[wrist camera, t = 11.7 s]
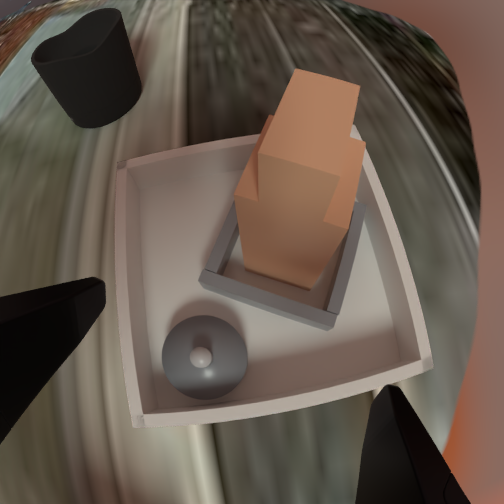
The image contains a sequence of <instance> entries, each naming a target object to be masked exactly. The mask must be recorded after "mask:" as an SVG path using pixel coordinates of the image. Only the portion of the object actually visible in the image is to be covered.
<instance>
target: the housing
mask: <svg viewBox="0 0 504 504" xmlns="http://www.w3.org/2000/svg"><path fill="white" fill-rule="evenodd" d="M259 136H260V134H256V135H249V136H243V137H236V138H230V139H224V140H218V141H212V142H207V143H201V144H196V145H191V146H186V147H181V148H176V149H171V150H167V151H162V152H158V153H153V154H149V155H145V156H141V157H137V158H132V159H129V160H125V161H121V162H117V176H116V196H115V276H116V297H117V312H118V324H119V335H120V345H121V354H122V362H123V370H124V377H125V384H126V391H127V397H128V403H129V409H130V415H131V420H132V425H133V428H146V427H168V426H183V425H195V424H206V423H215V422H223V421H231V420H238V419H245V418H252V417H258V416H264V415H270V414H275V413H281V412H286V411H291V410H295V409H300V408H305V407H309V406H314V405H318V404H322V403H326V402H330V401H334V400H338V399H342V398H345V397H349V396H353V395H356V394H360V393H363V392H366V391H370V390H373V389H376V388H379V387H383V386H385V385H387V384H392V383H395V382H398V381H401V380H403V379H406V378H409V377H412V376H415V375H417V374H420V373H423V372H425V371H428V370H430V369H433V368H434V365H433V360H432V355H431V350H430V345H429V340H428V335H427V331H426V326H425V322H424V318H423V314H422V310H421V306H420V302H419V298H418V294H417V290H416V287H415V283H414V280H413V276H412V273H411V269H410V266H409V263H408V259H407V256H406V253H405V250H404V247H403V244H402V241H401V238H400V235H399V232H398V229H397V226H396V223H395V220H394V217H393V215H392V212H391V209H390V206H389V204H388V201H387V199H386V196H385V193H384V191H383V188H382V186H381V183H380V181H379V178H378V176H377V173H376V171H375V169H374V166H373V164H372V162H371V159H370V157H369V155H368V152H367V150H366V148H365V151H364V157H363V162H362V167H361V173H360V178H359V183H358V188H357V193H356V197H355V202H354V207H353V211H352V216H351V220H350V224H349V229H348V231H347V233H346V234H345V236H344V237H343V239H342V241H341V242H340V244H339V246H338V247H337V249H336V250H335V252H334V254H333V255H332V257H331V258H330V260H329V262H328V263H327V265H326V266H325V268H324V270H323V271H322V273H321V274H320V276H319V277H318V279H317V280H316V282H315V284H314V285H313V287H312V288H311V290H310V291H307V290H304V289H301V288H298V287H295V286H291V285H288V284H285V283H282V282H279V281H276V280H273V279H270V278H267V277H264V276H261V275H257V274H254V273H251V272H248V271H245V266H244V260H243V253H242V247H241V240H240V234H239V227H238V221H237V214H236V207H235V201H234V192H235V190H236V188H237V185H238V183H239V181H240V178H241V176H242V174H243V172H244V169H245V167H246V165H247V163H248V160H249V158H250V156H251V154H252V151H253V149H254V147H255V145H256V143H257V140H258V138H259ZM350 137H352V138H355V139H358V140H361V141H362V139H361V137H360V135H359V133H358V131H357V128H356V126H355V125H352V129H351V133H350Z"/></svg>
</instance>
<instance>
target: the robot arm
mask: <svg viewBox="0 0 504 504" xmlns="http://www.w3.org/2000/svg"><path fill="white" fill-rule="evenodd" d="M105 304H106V289H105V282H104V281H103V280H101V279H99V278H96V277H89V278H85V279H80V280H75V281H71V282H66V283H62V284H57V285H53V286H48V287H43V288H39V289H34V290H30V291H25V292H21V293H16V294H12V295H7V296H3V297H0V444H1V443H2V441H3V440H4V439H5V437H6V436H7V434H8V433H9V432H10V430H11V428H12V427H13V426H14V425H15V423H16V422H17V421H18V419H19V418H20V417H21V415H22V414H23V413H24V411H25V410H26V409H27V407H28V406H29V405H30V404H31V402H32V401H33V400H34V398H35V397H36V396H37V395H38V393H39V392H40V391H41V389H42V388H43V387H44V386H45V384H46V383H47V382H48V381H49V379H50V378H51V377H52V376H53V375H54V373H55V372H56V371H57V370H58V368H59V367H60V366H61V365H62V364H63V362H64V361H65V360H66V359H67V358H68V356H69V355H70V354H71V353H72V352H73V350H74V349H75V348H76V347H77V346H78V344H79V343H80V342H81V341H82V339H83V338H84V337H85V335H86V334H87V332H88V331H89V329H90V328H91V326H92V325H93V323H94V322H95V321H96V319H97V318H98V316H99V315H100V313H101V312H102V311H103V309H104V307H105ZM355 504H471V503H470V501H469V500H468V498H467V497H466V495H465V494H464V492H463V491H462V489H461V487H460V486H459V484H458V482H457V481H456V479H455V477H454V475H453V474H452V473H451V470H450V469H449V467H448V465H447V463H446V462H445V460H444V458H443V457H442V455H441V453H440V452H439V450H438V448H437V447H436V445H435V443H434V442H433V440H432V438H431V437H430V435H429V433H428V432H427V430H426V429H425V427H424V425H423V424H422V422H421V420H420V419H419V417H418V416H417V414H416V412H415V411H414V409H413V408H412V406H411V404H410V403H409V401H408V400H407V398H406V397H405V395H404V393H403V392H402V390H401V389H400V388H399V387H398V386H394V385H390V384H387V385H385V386H384V387H383V389H382V390H381V391H380V393H379V394H378V395H377V396H376V398H375V399H374V401H373V402H372V404H371V408H370V413H369V419H368V424H367V429H366V434H365V439H364V443H363V448H362V455H361V464H360V472H359V480H358V488H357V495H356V501H355Z"/></svg>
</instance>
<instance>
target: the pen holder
mask: <svg viewBox="0 0 504 504" xmlns="http://www.w3.org/2000/svg"><path fill="white" fill-rule="evenodd" d="M31 62H32V64H33V65H34V67H35V68H36V70H37V72H38V73H39V74H40V76H41V77H42V79H43V80H44V82H45V83H46V85H47V86H48V88H49V89H50V91H51V92H52V94H53V95H54V96H55V98H56V99H57V101H58V102H59V104H60V105H61V106H62V108H63V109H64V110H65V112H66V113H67V114H68V116H69V117H70V118H71V120H72V121H73V122H74V123H75V124H76V125H77V126H80V127H83V128H97V127H101V126H104V125H107V124H109V123H111V122H113V121H115V120H117V119H118V118H120V117H122V116H123V115H124V114H125V113H127V112H128V111H129V110H130V109H131V108H132V107H133V105H134V104H135V103H136V101H137V100H138V98H139V96H140V93H141V88H142V87H141V81H140V77H139V74H138V70H137V67H136V63H135V60H134V57H133V53H132V50H131V47H130V43H129V40H128V36H127V33H126V29H125V26H124V22H123V19H122V15H121V12H120V11H119V10H118V9H115V8H104V9H99V10H95V11H92V12H90V13H88V14H86V15H84V16H83V17H82V18H80V19H79V20H78V21H77V22H76V23H75V24H73V25H72V26H71V27H70V28H69V29H67V30H66V31H65V32H63V33H61V34H59V35H56V36H54V37H51V38H49V39H47V40H45V41H43V42H42V43H41V44H40V45H39V46H38V47H37V48H36V49H35V51H34V52H33V54H32V57H31Z"/></svg>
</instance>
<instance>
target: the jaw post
mask: <svg viewBox="0 0 504 504" xmlns="http://www.w3.org/2000/svg"><path fill="white" fill-rule="evenodd" d="M359 89H360V86H358V85H355V84H352V83H349V82H345V81H342V80H338V79H335V78H331V77H328V76H324V75H320V74H316V73H312V72H308V71H304V70H300V69H295V71H294V73H293V76H292V78H291V80H290V82H289V84H288V86H287V89H286V91H285V93H284V95H283V97H282V100H281V102H280V104H279V106H278V108H277V111H276V113H275V115H274V116H273V115H269V116H268V118H267V121H266V123H265V125H264V127H263V129H262V132H261V134H260V136H259V138H258V140H257V143H256V145H255V147H254V149H253V151H252V154H251V156H250V158H249V160H248V163H247V165H246V167H245V169H244V172H243V174H242V176H241V178H240V181H239V183H238V185H237V188H236V190H235V192H234V201H235V207H236V214H237V221H238V227H239V234H240V240H241V247H242V253H243V260H244V266H245V271H248V272H251V273H254V274H257V275H261V276H264V277H267V278H270V279H273V280H276V281H279V282H282V283H285V284H288V285H291V286H295V287H298V288H301V289H304V290H307V291H310V290H311V288H312V287H313V285H314V284H315V282H316V280H317V279H318V277H319V276H320V274H321V273H322V271H323V270H324V268H325V266H326V265H327V263H328V262H329V260H330V258H331V257H332V255H333V254H334V252H335V250H336V249H337V247H338V246H339V244H340V242H341V241H342V239H343V237H344V236H345V234H346V233H347V231H348V229H349V224H350V220H351V216H352V211H353V207H354V202H355V197H356V193H357V188H358V183H359V178H360V173H361V167H362V162H363V157H364V151H365V146H366V142H364V141H361V140H358V139H355V138H352V137H350V133H351V129H352V124H353V119H354V114H355V109H356V104H357V99H358V94H359Z"/></svg>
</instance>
